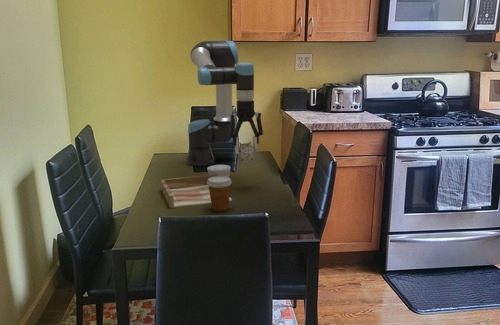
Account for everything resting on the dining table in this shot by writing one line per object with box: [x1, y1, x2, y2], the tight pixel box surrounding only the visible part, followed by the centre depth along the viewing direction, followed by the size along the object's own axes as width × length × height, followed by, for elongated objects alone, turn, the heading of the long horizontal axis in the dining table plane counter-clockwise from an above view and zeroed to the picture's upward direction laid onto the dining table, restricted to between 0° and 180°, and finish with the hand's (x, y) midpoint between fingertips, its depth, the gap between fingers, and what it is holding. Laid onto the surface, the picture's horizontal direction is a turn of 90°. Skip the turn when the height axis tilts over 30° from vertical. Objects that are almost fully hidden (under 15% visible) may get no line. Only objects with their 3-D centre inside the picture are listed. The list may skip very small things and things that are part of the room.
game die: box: [237, 141, 258, 162], centre depth 199 cm, size 9×8×10 cm
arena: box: [160, 174, 233, 209], centre depth 193 cm, size 24×26×5 cm
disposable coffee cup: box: [207, 176, 233, 212], centre depth 177 cm, size 10×10×12 cm
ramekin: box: [206, 164, 232, 178], centre depth 219 cm, size 11×11×5 cm
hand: (246, 151), depth 199 cm, fingers closed on game die, 8 cm apart
